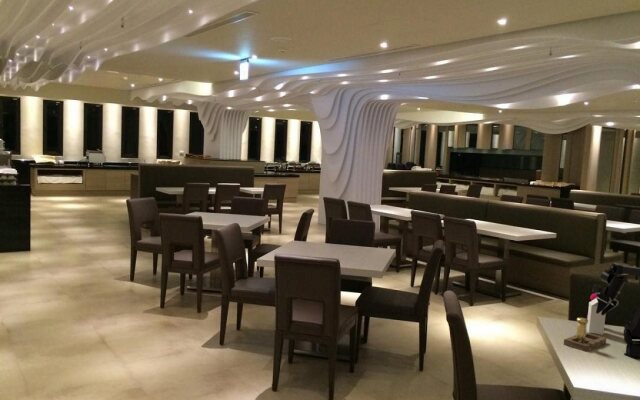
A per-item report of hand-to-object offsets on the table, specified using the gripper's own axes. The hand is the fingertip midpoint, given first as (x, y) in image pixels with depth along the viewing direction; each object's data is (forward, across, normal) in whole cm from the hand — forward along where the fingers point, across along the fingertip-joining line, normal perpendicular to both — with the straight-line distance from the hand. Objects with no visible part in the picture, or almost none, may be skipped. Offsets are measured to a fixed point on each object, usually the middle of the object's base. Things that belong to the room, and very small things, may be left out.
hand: (599, 314), depth 273 cm
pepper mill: (+9, -31, -7) cm, 33 cm away
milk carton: (+11, -20, -3) cm, 23 cm away
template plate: (+16, +4, +2) cm, 17 cm away
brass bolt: (+18, +10, +2) cm, 20 cm away
